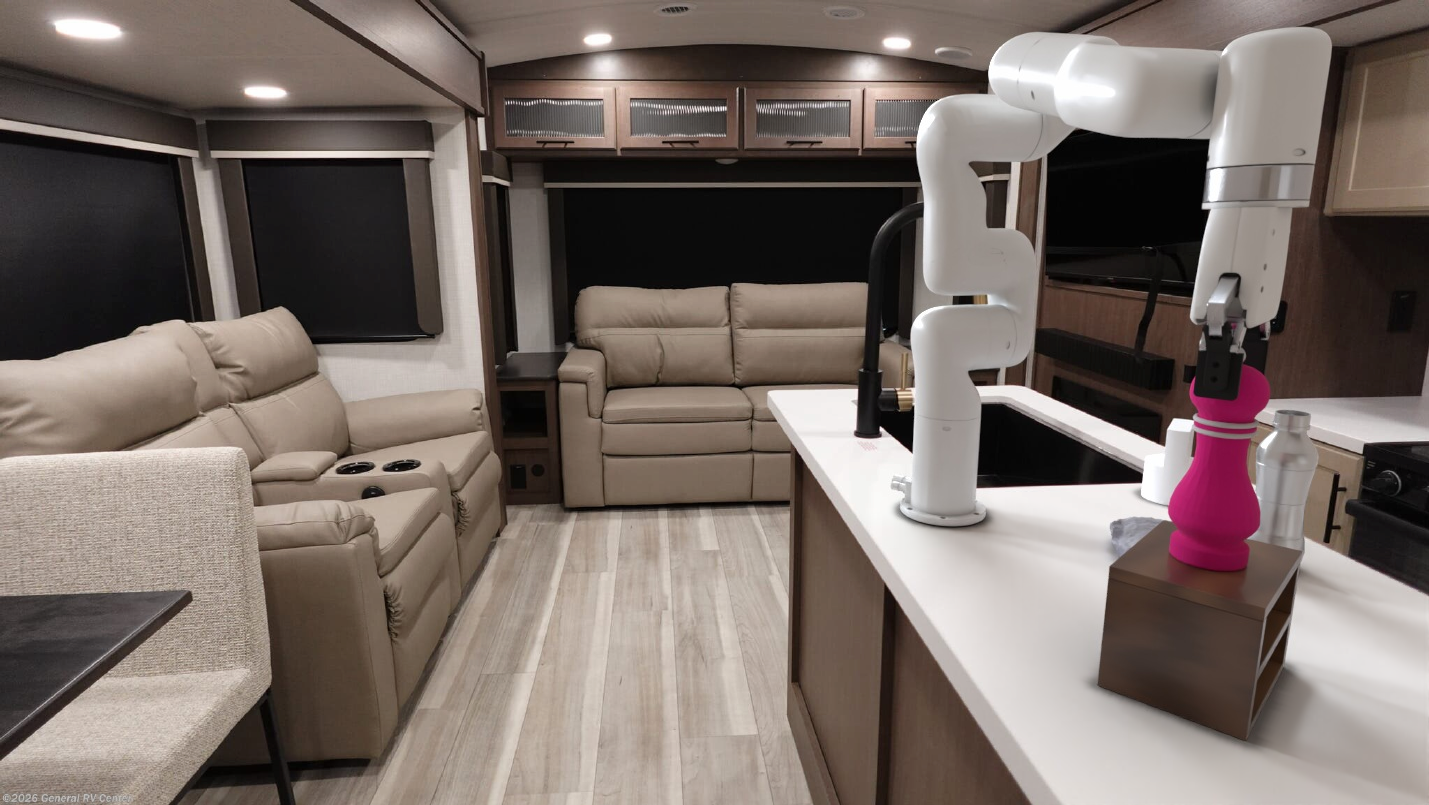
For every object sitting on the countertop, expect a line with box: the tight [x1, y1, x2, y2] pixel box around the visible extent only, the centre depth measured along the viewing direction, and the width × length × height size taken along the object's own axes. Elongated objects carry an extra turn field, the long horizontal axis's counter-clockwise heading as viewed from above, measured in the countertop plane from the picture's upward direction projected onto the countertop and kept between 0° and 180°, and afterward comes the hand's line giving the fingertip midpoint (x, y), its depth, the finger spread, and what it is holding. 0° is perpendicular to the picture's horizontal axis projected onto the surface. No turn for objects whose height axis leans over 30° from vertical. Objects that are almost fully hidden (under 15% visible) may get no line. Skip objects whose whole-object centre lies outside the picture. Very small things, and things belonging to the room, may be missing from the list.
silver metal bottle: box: [1247, 409, 1320, 562], centre depth 98 cm, size 6×7×20 cm
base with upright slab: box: [1140, 418, 1195, 506], centre depth 124 cm, size 9×9×12 cm
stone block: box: [1109, 516, 1172, 559], centre depth 103 cm, size 12×5×10 cm
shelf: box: [1096, 519, 1302, 741], centre depth 74 cm, size 12×16×12 cm
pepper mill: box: [1167, 348, 1271, 571], centre depth 71 cm, size 7×7×20 cm
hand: (1229, 389), depth 70 cm, fingers open, 9 cm apart
